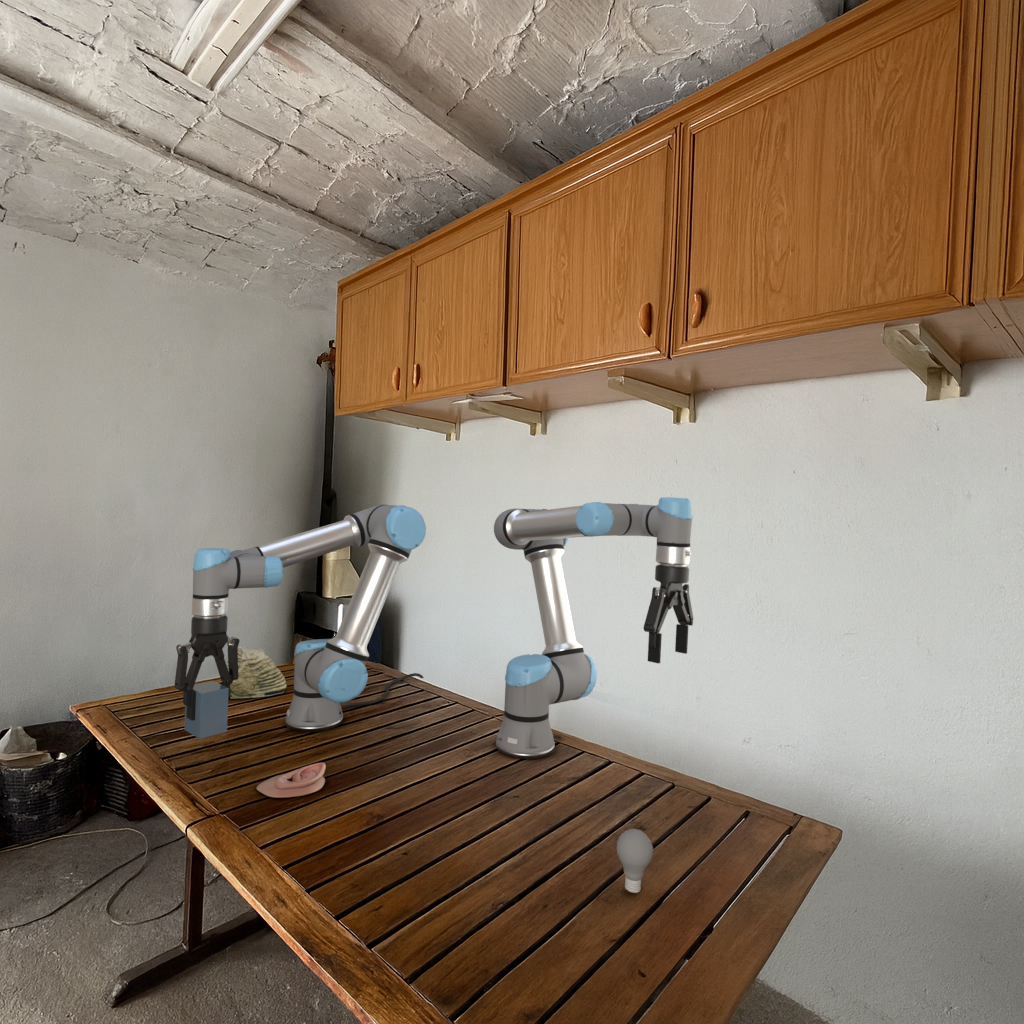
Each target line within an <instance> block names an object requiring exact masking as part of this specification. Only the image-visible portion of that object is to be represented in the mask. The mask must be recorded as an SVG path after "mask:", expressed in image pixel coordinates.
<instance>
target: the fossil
mask: <svg viewBox="0 0 1024 1024" xmlns="http://www.w3.org/2000/svg"><path fill="white" fill-rule="evenodd" d="M237 650H238V674H239V678H238V679H237V680H233V683H232V684H231V685H230V695H229V698H230V699H250V698H264V697H271V696H275V695H281V694H284V693H285V691H286V689H287V687H288V686H287V680H286V678H285V676H284V674H283V673H282V672H281V669H279V668H278V667H277V665H276V663H275V662H274V660H273V659H272V658H271V657H270V656H269V655H268V654H267V653H266V652H265V650H264V649H263V648H260V647H258V648H251V647H247V646H246V647H245V646H238V648H237ZM226 665H227V669H228V661H227V662H226ZM228 672H229V670H228Z"/></svg>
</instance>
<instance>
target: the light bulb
mask: <svg viewBox="0 0 1024 1024" xmlns="http://www.w3.org/2000/svg"><path fill="white" fill-rule="evenodd" d="M615 849H616V854H617V857H618V859H619V861H620V863H621V865H622V867H623V873H624V874H623V875H624V876H625V878H624V888H625V890H627V891H628V892H630V893H634V894H635V893H639V892H640V891H641V889H642V887H641V886H642V879H643V877H644V875H645V871H646V868H647V867H648V866H649V864H650V863H651V861H652V859H653V855H654V847H653V843H652V841H651V838H649V836H648V835H647V834H646V833H645V832H643V831H642V830H641V829H636V828H629V829H627V830H625V831H623V832H622V833H621V834H620V835H619V837H618V839H617V841H616V847H615Z"/></svg>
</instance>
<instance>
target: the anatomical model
mask: <svg viewBox="0 0 1024 1024" xmlns="http://www.w3.org/2000/svg"><path fill="white" fill-rule="evenodd" d="M326 768H327V765H326V763H325V762H316V763H313V764H309V765H306V766H302V767H300V768H297V769H294V770H292V771H289V772H286V773H282V774H278V775H275V776H273V777H270V778H267V779H265V780H264V781H262V782H261V783H259V784H258V785H256V790H257V792H259V793H261V794H263V795H264V796H267V797H270V798H275V799H278V798H293V797H294V798H295V797H300V796H301V797H302V796H306V795H309V794H312V793H315V792H318V791H320V790H321V789H322V788H323V787H324V785H325V783H326V778H325V777H324V775H325V772H326V770H327V769H326Z"/></svg>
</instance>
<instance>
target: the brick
mask: <svg viewBox="0 0 1024 1024" xmlns="http://www.w3.org/2000/svg"><path fill="white" fill-rule="evenodd" d="M219 683H220V682H217V681H215V680H210V681H204V682H200V683H195V684H194V687H193V690H195V691H196V708H195V720H190V719H188V718H186V712H187V706H186V705H184V729H183V730H184V731H185V732H187V733H189V734H190V735H192V736H194V737H195V738H197V739H199V740H201V739H205V738H209V737H213V736H216V735H220V734H224V733H228V719H229V697H228V695H229V688H228V687H226V686H223V685H221V684H219ZM229 696H230V695H229Z"/></svg>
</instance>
